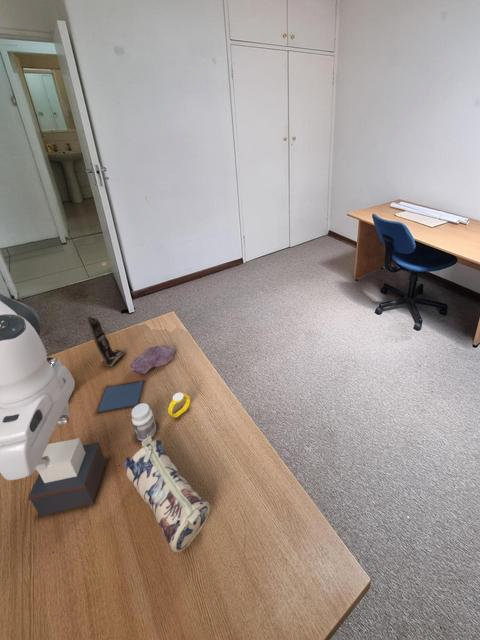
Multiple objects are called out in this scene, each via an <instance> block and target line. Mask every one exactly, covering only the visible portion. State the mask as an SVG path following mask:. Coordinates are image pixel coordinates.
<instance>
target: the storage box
mask: <svg viewBox="0 0 480 640" xmlns="http://www.w3.org/2000/svg"><path fill="white" fill-rule="evenodd" d="M82 445H83V448H84V450H85V452H86V453H85V456H84V459H83V461H82V464H81V467H80V470H79V472H78V475H77V476H76V477H71V478H67V479H62V480H57V481H53V482H48V483H44V481H43V480H42V478H41V476H40V474H39V473H38V475H37V477H36V479H35V481H34V482H33V485H32V488H31V489H30V492H29V494H28V497H27V499H28V501H30V502H31V504H32V505H33V507H34V508H35V510H36V512H37V514H38V516H39V517H41V516H46V515H51V514H55V513H59V512H63V511H69V510H72V509H76V508H82V507H85V506H90V505H94V502H95V500H96V495H97V493H98V490H99V486H100V482H101V479H102V476H103V473H104V469H105V466H106V462H107V459H106V458H105V455H104V452H103V450H102V448H101V447H102V446H101V443H100V442H99V441H98V442H97V441H96V442H93V443H87V444H82Z"/></svg>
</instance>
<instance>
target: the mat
mask: <svg viewBox="0 0 480 640" xmlns="http://www.w3.org/2000/svg"><path fill="white" fill-rule="evenodd" d="M143 385H144V381H137V382H131V383H124V384H119V385H114V386H107V387H106V388H105V391H104V394H103V396H102V399H101V401H100V405H99V407H98V410H97V412H98V413H102V412H108V411H113V410H118V409H124V408H129V407H130V408H131V407H135V406H137V405H138V404H139V401H140V397H141V393H142V390H143Z"/></svg>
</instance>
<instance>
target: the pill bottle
mask: <svg viewBox="0 0 480 640" xmlns="http://www.w3.org/2000/svg"><path fill="white" fill-rule="evenodd" d="M131 423H132V427H133V429H134V433H135V436H136V439H138V440H139V441H141V442H142V441H144V440H145V439H146V438H148V437H149V436H151V438H153V436H154V435H155V433H156V432H157V424H156V420H155V417H154V413H153V411H152V409H151V408H150V406H149V404H147V403H144V402H143V403H138V405H135V406H133V408H132V410H131Z"/></svg>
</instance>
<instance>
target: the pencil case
mask: <svg viewBox="0 0 480 640" xmlns="http://www.w3.org/2000/svg"><path fill="white" fill-rule="evenodd" d="M141 446H142V447H141V448H140V449H138V450H137V451H136V452H135V453H134V454H133V455H132V457H130V456H127V457H126V458H125V462H124V465H123V466H124V469H126V477H127V478H128V480H129V481H130V482H132V484H133V486H134V487H135V489H136V491H137V492H136V493H138V494H139V496H140V497H141V498H142V500H143V501H144V502H145V503H146V504H147V506H148V507H149V508H150V510H151V511H152V512H153V515H154V517H155V520H156V522H157V523H158V525H159V527H160V529H161V530H162V533H163V535H164V537H165V540H166V542H167V544H168V545H169V546H170V548H171V551H172V552H175V553H180V552H182V551H184V550H185V549H186V548H188V547H189V546H190V544H191V543H192V542H193V541H194V539H196V537H197V535H198V534H199V532H201V530H202V529H203V528H204V526H205V524H206V522H207V520H208V518H209V515H210V513H211V512H210V511H211V504H210V502H208V501H207V500H205V499H203V498H202V497H201V496H200V494H198V492H197V491H195V490H194V489H193V487H191V485H190V483H188V481H187V480H186V479H185V478H184V477H183V476H182V475H180V473H179V470H178V468H177V466H176V465H175V464H174V463H173V462H172V460H171V458H170V457H169V456H168V454H167V452H166V451H165V450H164V448H163V447H164V445H163V441H162V440H160V439H154V440H153V437H151V436H149V437H148V438H146V439H145V440H143V441H142V440H141Z"/></svg>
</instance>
